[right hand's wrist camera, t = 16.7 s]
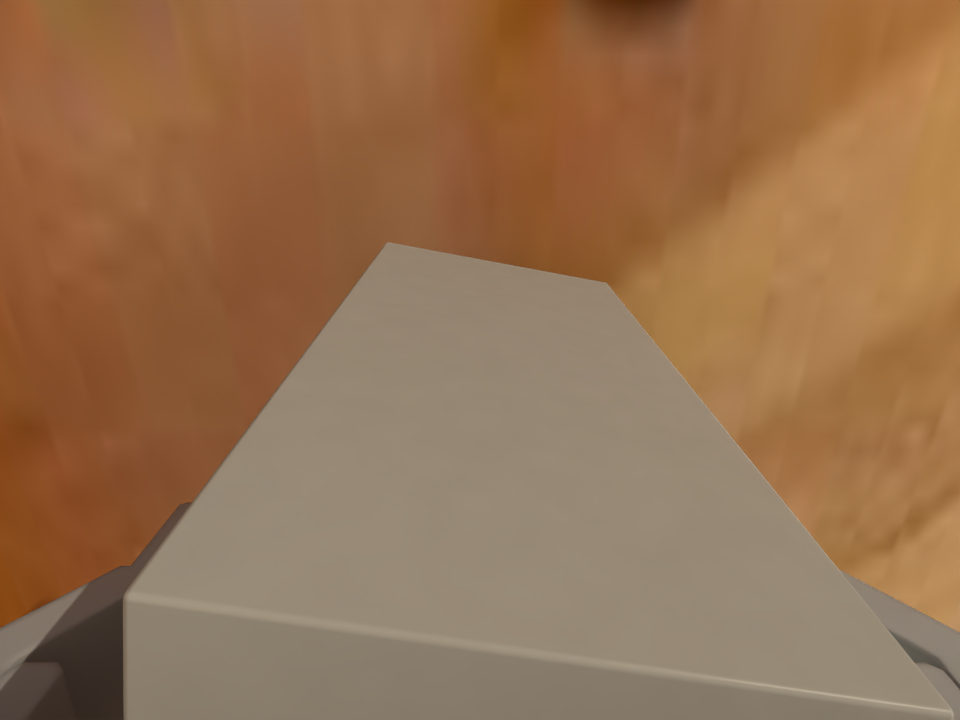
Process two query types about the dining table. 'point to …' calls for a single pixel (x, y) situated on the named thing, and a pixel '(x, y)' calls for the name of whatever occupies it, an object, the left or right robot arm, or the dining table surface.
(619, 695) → the box
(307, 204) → the dining table surface
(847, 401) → the dining table surface
